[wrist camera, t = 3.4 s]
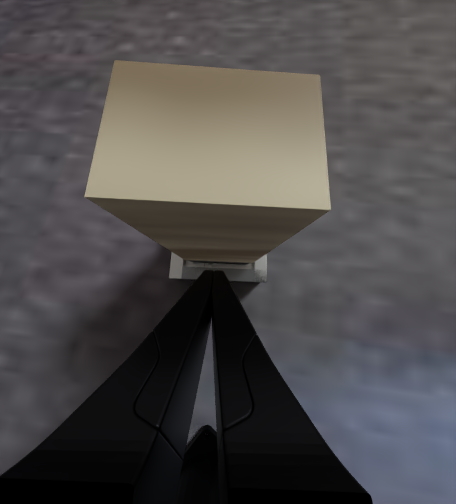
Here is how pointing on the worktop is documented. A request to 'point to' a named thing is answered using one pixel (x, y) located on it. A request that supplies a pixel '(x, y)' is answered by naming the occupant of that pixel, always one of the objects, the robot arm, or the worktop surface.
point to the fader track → (232, 271)
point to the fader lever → (211, 158)
